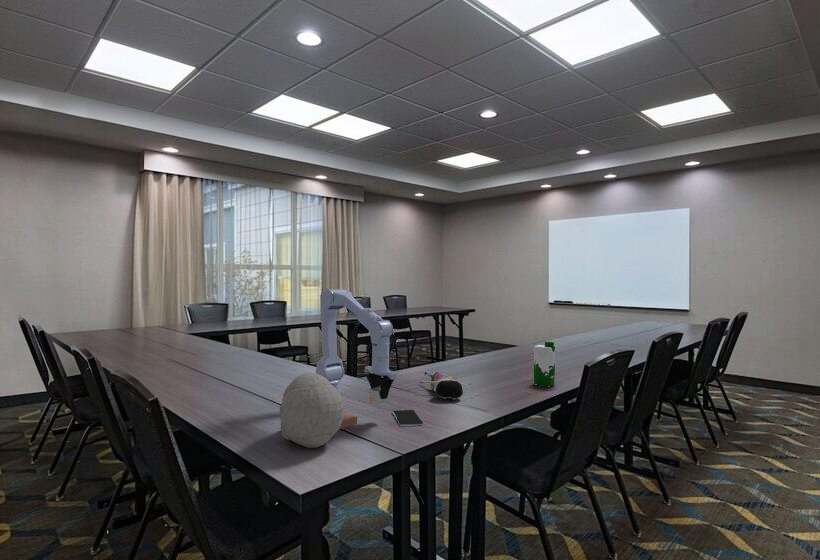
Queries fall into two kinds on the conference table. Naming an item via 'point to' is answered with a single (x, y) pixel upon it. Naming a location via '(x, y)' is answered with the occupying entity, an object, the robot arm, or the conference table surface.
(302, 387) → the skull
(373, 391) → the grey rectangular block
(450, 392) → the toy
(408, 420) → the smartphone
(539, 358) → the milk carton
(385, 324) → the robot arm
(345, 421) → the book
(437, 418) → the conference table surface
